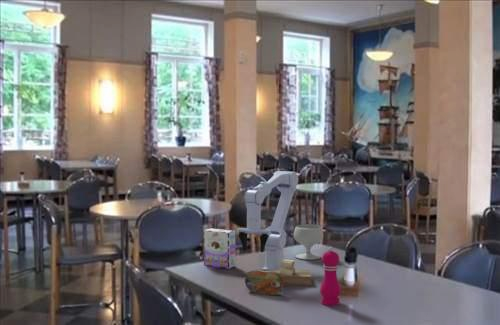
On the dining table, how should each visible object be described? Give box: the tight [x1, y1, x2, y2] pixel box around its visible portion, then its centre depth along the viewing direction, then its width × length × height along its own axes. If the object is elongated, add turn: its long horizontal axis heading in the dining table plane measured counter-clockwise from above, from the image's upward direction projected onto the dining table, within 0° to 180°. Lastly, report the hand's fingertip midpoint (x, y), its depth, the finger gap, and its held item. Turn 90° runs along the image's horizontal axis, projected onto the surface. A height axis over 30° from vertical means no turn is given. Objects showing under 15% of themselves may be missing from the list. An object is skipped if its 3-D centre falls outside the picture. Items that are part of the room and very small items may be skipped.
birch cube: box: [280, 258, 296, 276], centre depth 227 cm, size 4×4×5 cm
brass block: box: [269, 269, 312, 287], centre depth 227 cm, size 10×18×4 cm, turn 91°
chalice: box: [293, 223, 324, 261], centre depth 270 cm, size 14×14×15 cm
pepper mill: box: [319, 246, 342, 307], centre depth 200 cm, size 7×7×20 cm
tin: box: [244, 269, 284, 296], centre depth 213 cm, size 15×3×8 cm, turn 62°
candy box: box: [203, 227, 237, 270], centre depth 253 cm, size 14×6×16 cm, turn 58°
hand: (253, 251), depth 237 cm, fingers open, 7 cm apart
